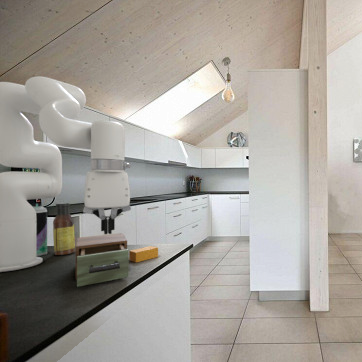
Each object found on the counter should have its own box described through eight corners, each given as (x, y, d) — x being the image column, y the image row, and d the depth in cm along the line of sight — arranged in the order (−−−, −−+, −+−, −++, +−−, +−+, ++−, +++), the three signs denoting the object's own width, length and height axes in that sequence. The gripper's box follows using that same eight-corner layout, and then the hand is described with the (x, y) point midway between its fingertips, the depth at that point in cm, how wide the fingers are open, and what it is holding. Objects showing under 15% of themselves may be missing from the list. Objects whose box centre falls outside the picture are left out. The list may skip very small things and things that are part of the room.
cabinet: (127, 270, 82) (127, 240, 82) (75, 279, 74) (75, 246, 74) (122, 259, 93) (122, 232, 93) (77, 266, 85) (77, 237, 85)
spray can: (32, 257, 95) (32, 203, 95) (23, 255, 97) (23, 203, 97) (50, 253, 101) (50, 202, 101) (42, 252, 102) (42, 202, 102)
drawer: (130, 282, 70) (130, 253, 70) (76, 293, 63) (76, 261, 63) (123, 264, 84) (123, 241, 84) (78, 272, 77) (78, 246, 77)
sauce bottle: (79, 251, 103) (79, 202, 103) (64, 256, 97) (63, 203, 97) (64, 251, 104) (64, 202, 104) (48, 255, 98) (48, 203, 98)
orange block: (135, 262, 90) (135, 252, 89) (129, 260, 92) (129, 250, 92) (158, 256, 96) (158, 247, 96) (151, 254, 99) (151, 245, 99)
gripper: (137, 168, 78) (137, 228, 78) (73, 166, 69) (73, 234, 69) (141, 167, 72) (140, 232, 72) (71, 165, 63) (71, 239, 63)
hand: (107, 233), depth 71 cm, fingers closed
